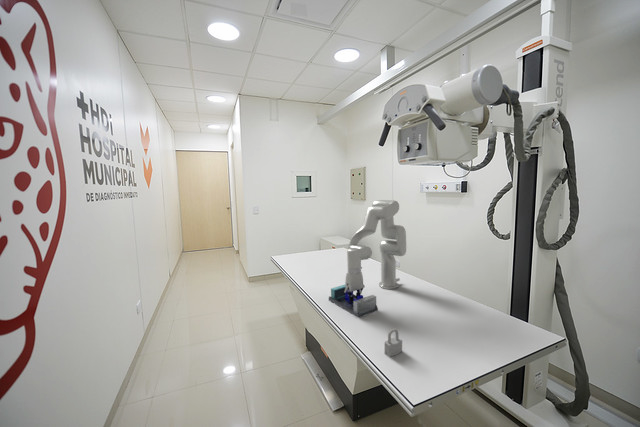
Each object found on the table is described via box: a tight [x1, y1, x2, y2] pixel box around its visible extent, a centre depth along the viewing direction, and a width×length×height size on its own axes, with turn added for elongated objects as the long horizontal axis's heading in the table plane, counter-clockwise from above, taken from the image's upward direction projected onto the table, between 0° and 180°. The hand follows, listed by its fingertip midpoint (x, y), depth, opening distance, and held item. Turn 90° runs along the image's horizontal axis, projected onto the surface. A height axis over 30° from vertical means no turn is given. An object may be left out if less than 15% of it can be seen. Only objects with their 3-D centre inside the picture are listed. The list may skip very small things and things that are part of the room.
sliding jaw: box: [330, 284, 345, 299], centre depth 160 cm, size 12×3×6 cm, turn 124°
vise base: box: [328, 293, 379, 318], centre depth 151 cm, size 14×27×8 cm, turn 34°
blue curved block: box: [345, 290, 364, 304], centre depth 149 cm, size 12×4×6 cm, turn 33°
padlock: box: [383, 328, 403, 358], centre depth 107 cm, size 7×4×10 cm, turn 118°
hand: (355, 301), depth 149 cm, fingers closed on blue curved block, 4 cm apart
